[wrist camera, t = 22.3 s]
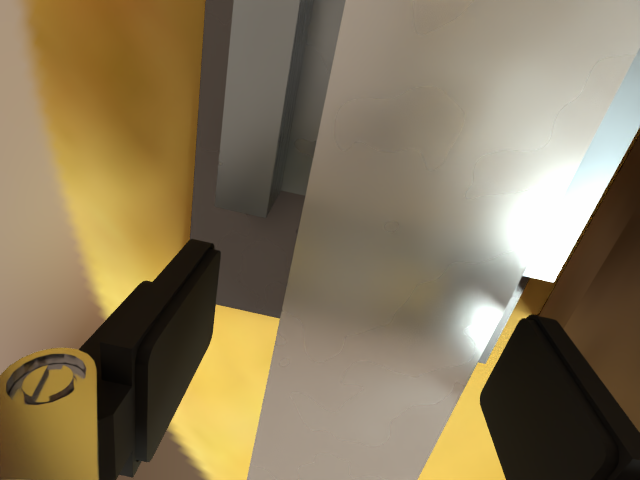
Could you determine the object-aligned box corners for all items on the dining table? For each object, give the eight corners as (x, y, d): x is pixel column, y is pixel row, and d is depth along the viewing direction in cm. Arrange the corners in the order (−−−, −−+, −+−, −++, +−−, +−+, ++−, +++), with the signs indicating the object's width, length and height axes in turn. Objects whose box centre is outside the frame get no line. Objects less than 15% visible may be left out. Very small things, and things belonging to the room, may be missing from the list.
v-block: (247, -425, 8) (115, -987, 4) (799, -290, 8) (1305, -679, 4) (193, 286, 16) (130, 378, 12) (479, 350, 16) (526, 463, 12)
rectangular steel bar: (460, -492, 6) (615, -1307, 2) (715, -426, 6) (1244, -1130, 2) (273, 375, 14) (245, 490, 10) (385, 400, 14) (395, 522, 10)
